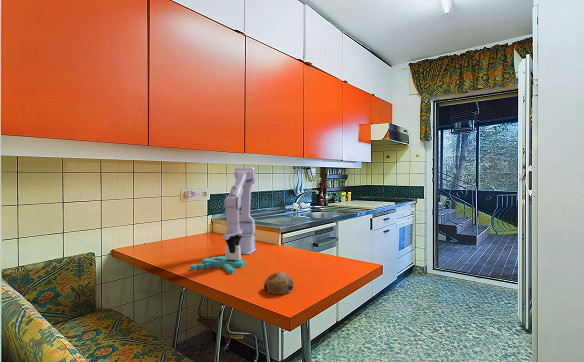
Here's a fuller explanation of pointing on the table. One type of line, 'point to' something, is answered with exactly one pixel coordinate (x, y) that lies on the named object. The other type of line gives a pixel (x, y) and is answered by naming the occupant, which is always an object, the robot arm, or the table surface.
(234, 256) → the tile
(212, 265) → the alien figure
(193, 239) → the table surface
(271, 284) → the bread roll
